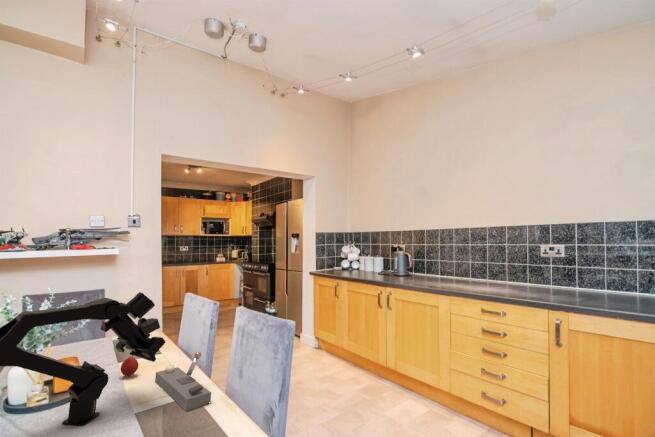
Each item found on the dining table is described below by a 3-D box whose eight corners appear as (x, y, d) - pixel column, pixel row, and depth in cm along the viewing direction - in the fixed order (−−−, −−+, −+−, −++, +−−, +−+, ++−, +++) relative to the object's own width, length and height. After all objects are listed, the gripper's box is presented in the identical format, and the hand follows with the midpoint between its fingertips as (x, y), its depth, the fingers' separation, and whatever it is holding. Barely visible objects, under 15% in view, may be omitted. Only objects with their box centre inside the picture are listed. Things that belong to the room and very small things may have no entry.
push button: (166, 373, 121) (167, 368, 121) (164, 371, 123) (164, 366, 123) (175, 371, 123) (175, 366, 123) (172, 369, 125) (172, 364, 125)
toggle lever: (187, 375, 115) (198, 352, 118) (184, 373, 117) (195, 350, 120) (192, 376, 116) (203, 353, 119) (190, 374, 118) (200, 352, 121)
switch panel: (185, 411, 102) (186, 398, 102) (155, 381, 121) (156, 371, 122) (210, 403, 107) (211, 391, 108) (177, 376, 127) (177, 366, 127)
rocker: (191, 394, 105) (191, 391, 104) (188, 392, 106) (188, 389, 106) (202, 389, 107) (202, 386, 107) (199, 387, 109) (199, 384, 109)
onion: (128, 380, 121) (131, 358, 122) (115, 378, 122) (118, 356, 123) (140, 375, 127) (142, 353, 127) (128, 373, 128) (130, 352, 129)
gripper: (163, 311, 106) (188, 343, 113) (130, 309, 115) (155, 338, 122) (136, 340, 98) (165, 372, 105) (102, 335, 106) (131, 365, 113)
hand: (154, 360), depth 111 cm, fingers closed
